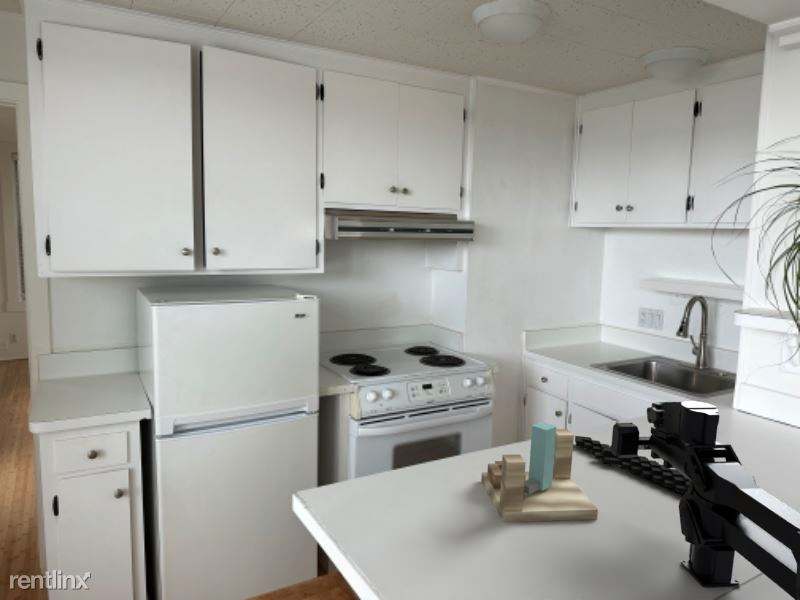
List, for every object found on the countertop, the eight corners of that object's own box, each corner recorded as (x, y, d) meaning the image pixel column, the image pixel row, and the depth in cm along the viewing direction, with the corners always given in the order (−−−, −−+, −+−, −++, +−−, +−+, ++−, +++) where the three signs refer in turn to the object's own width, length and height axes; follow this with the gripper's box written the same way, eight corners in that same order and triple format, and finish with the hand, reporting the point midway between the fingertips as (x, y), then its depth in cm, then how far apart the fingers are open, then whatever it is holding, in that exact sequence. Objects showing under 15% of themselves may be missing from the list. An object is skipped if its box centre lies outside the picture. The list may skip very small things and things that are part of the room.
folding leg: (531, 496, 112) (535, 434, 110) (517, 490, 114) (520, 429, 113) (551, 485, 117) (556, 426, 115) (537, 479, 119) (541, 421, 118)
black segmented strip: (587, 440, 150) (588, 427, 149) (743, 506, 117) (745, 489, 116) (560, 448, 144) (561, 434, 143) (717, 519, 111) (719, 502, 111)
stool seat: (597, 519, 109) (602, 461, 108) (503, 521, 107) (506, 463, 106) (563, 479, 126) (566, 428, 124) (481, 481, 124) (484, 429, 122)
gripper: (736, 411, 100) (682, 386, 115) (638, 412, 98) (597, 387, 113) (729, 470, 102) (677, 437, 117) (633, 472, 99) (593, 439, 115)
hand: (637, 424), depth 115 cm, fingers open, 9 cm apart
